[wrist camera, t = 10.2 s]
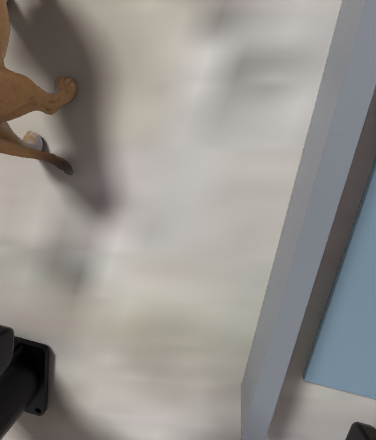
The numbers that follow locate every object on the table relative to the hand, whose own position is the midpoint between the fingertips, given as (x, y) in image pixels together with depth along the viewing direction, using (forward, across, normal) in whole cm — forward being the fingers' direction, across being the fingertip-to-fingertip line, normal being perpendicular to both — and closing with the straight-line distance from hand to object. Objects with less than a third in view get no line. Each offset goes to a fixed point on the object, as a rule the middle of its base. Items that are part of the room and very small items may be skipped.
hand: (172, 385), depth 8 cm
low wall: (+11, -4, -2) cm, 12 cm away
